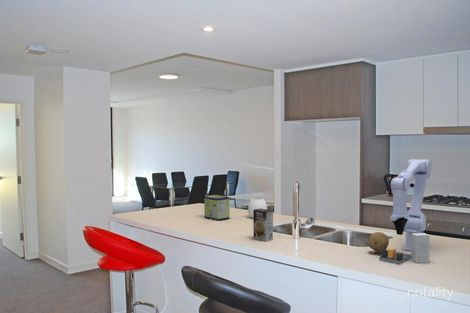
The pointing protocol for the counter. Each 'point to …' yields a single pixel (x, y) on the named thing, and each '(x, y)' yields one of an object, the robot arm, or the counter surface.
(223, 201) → the protein box
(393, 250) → the block
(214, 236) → the counter surface
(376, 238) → the natural sponge
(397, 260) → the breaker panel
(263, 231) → the coffee box
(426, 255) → the skincare box
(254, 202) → the cup
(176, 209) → the counter surface
